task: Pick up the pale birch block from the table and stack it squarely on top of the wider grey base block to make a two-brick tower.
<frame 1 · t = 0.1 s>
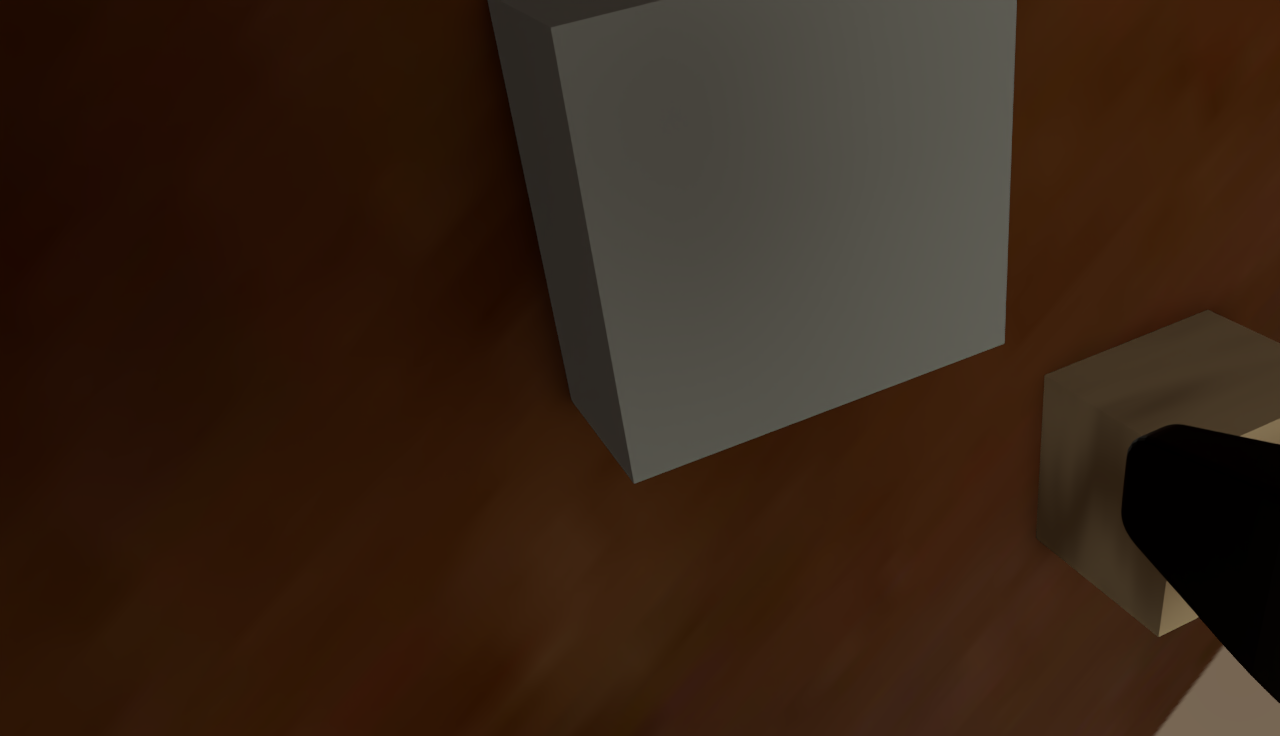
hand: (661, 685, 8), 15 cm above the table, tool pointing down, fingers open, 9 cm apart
birch block: (1116, 424, 33), on the table
base block: (720, 155, 24), on the table
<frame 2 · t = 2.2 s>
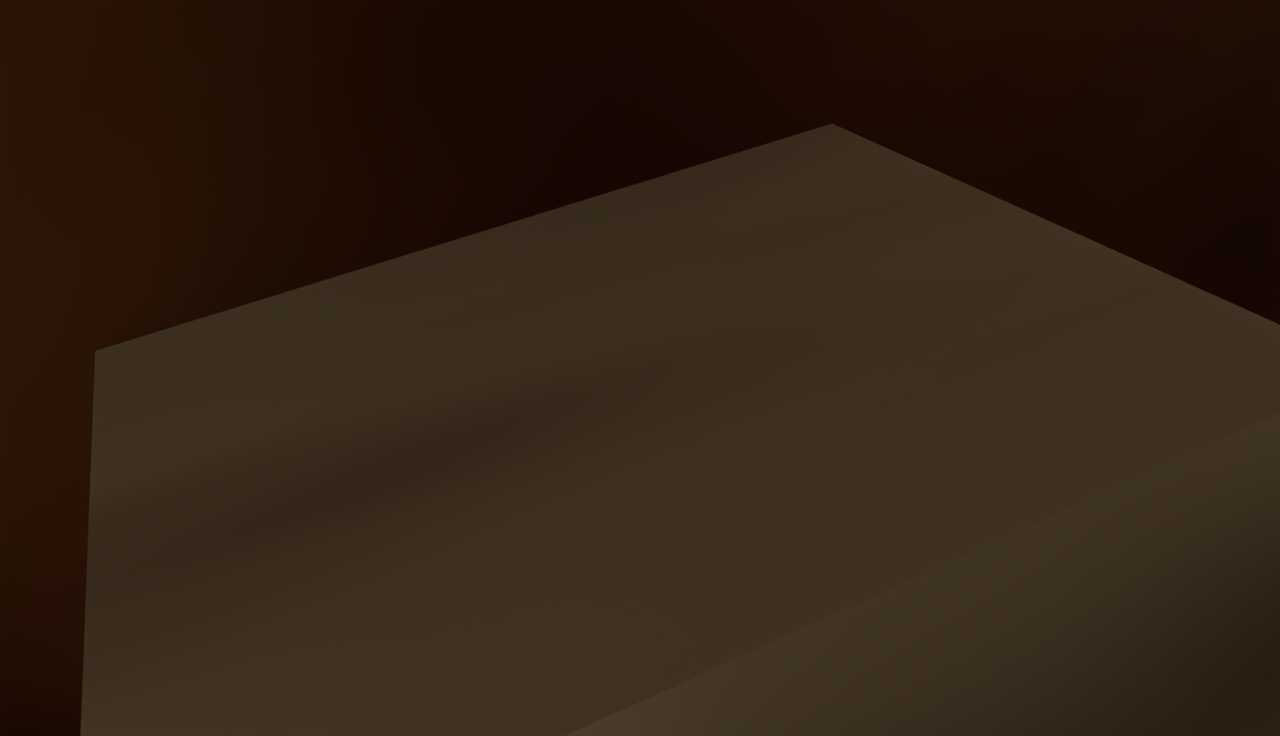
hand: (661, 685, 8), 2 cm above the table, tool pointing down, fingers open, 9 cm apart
birch block: (565, 517, 10), on the table
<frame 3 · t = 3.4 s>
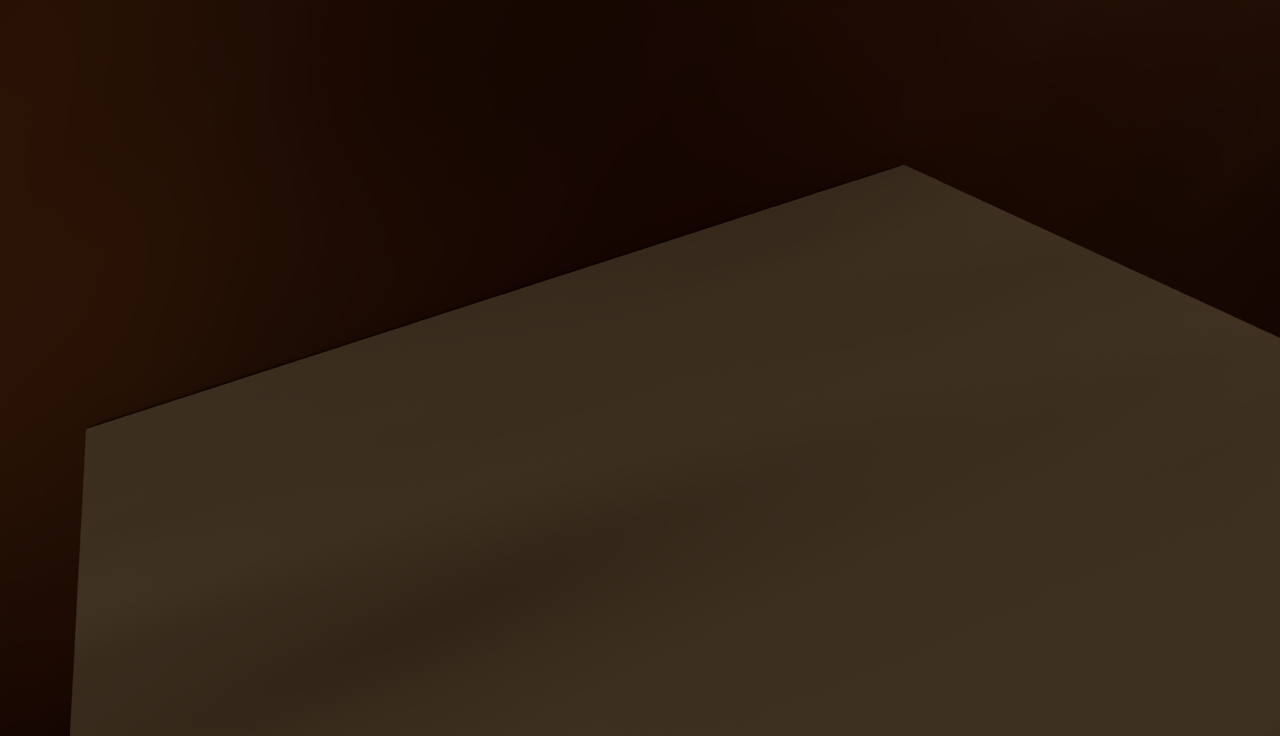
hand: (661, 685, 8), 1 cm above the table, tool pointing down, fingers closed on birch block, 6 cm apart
birch block: (609, 601, 9), on the table, touching gripper
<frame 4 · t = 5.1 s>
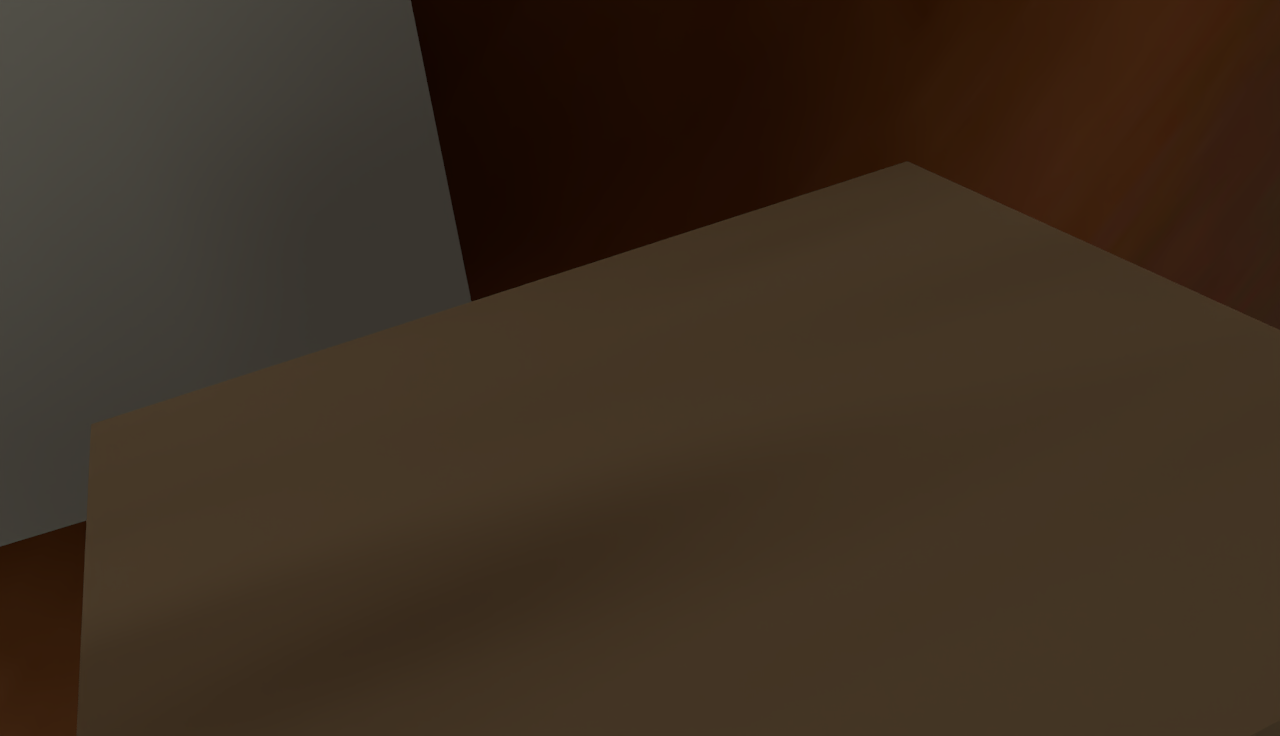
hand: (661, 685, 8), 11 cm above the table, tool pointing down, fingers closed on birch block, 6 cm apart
birch block: (612, 597, 9), point 10 cm above the table, touching gripper
base block: (44, 88, 15), on the table
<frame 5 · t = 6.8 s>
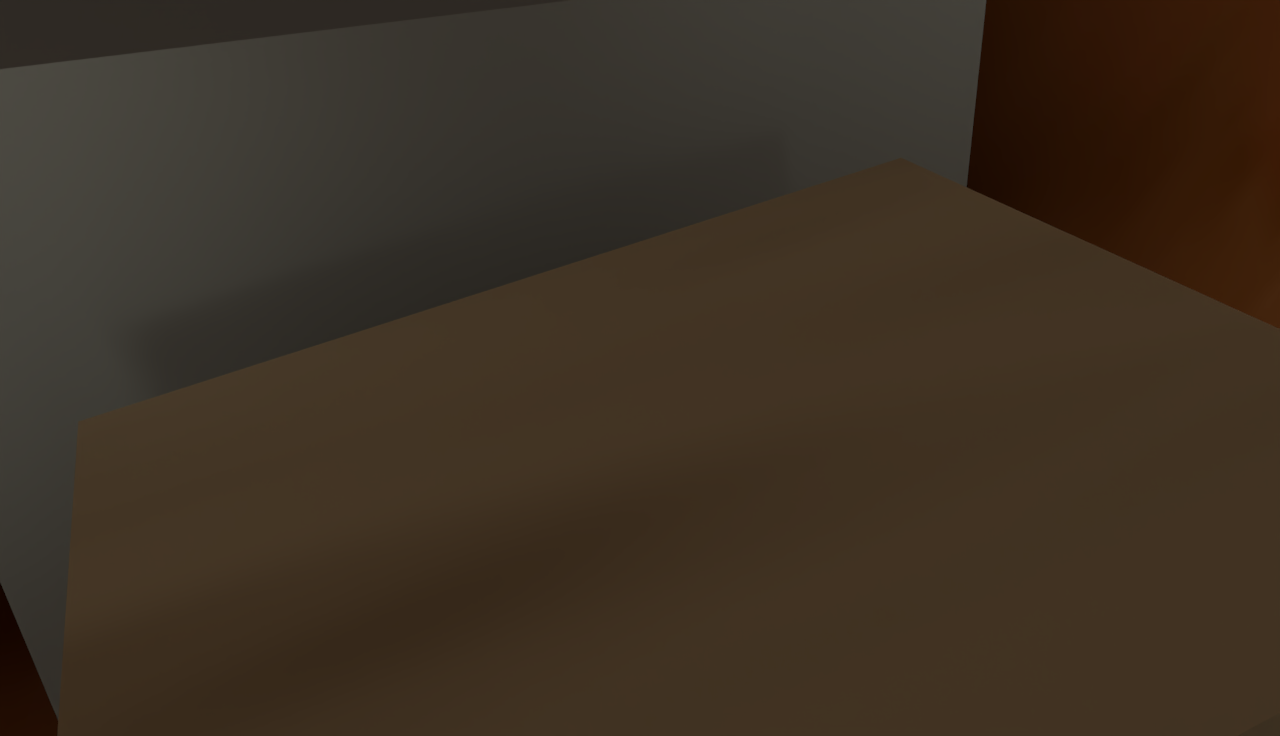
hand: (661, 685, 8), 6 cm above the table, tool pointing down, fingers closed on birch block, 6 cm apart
birch block: (605, 596, 9), point 5 cm above the table, touching gripper
base block: (447, 332, 13), on the table
when the fingers open (6 cm above the table, at t = 7.1 s): birch block drops 2 cm, point 4 cm above the table.
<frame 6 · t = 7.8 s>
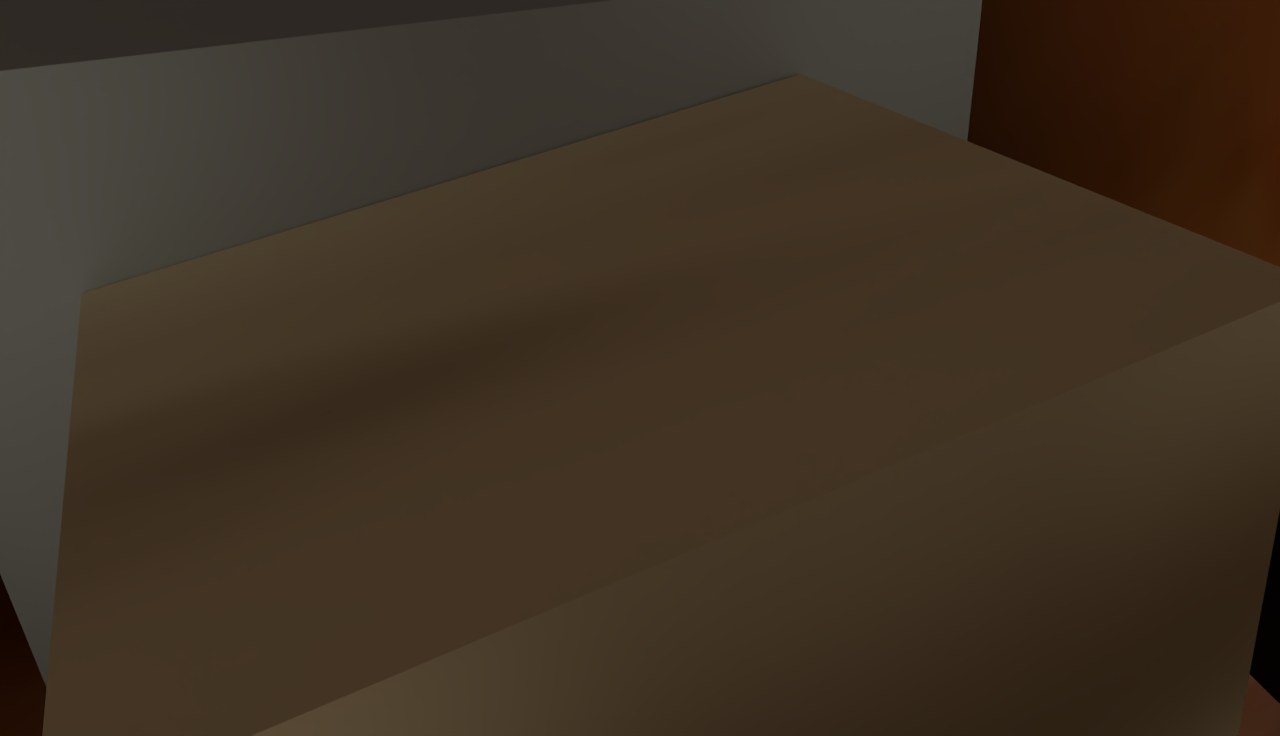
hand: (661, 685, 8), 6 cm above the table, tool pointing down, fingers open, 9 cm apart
birch block: (551, 471, 10), point 4 cm above the table
base block: (446, 333, 14), on the table
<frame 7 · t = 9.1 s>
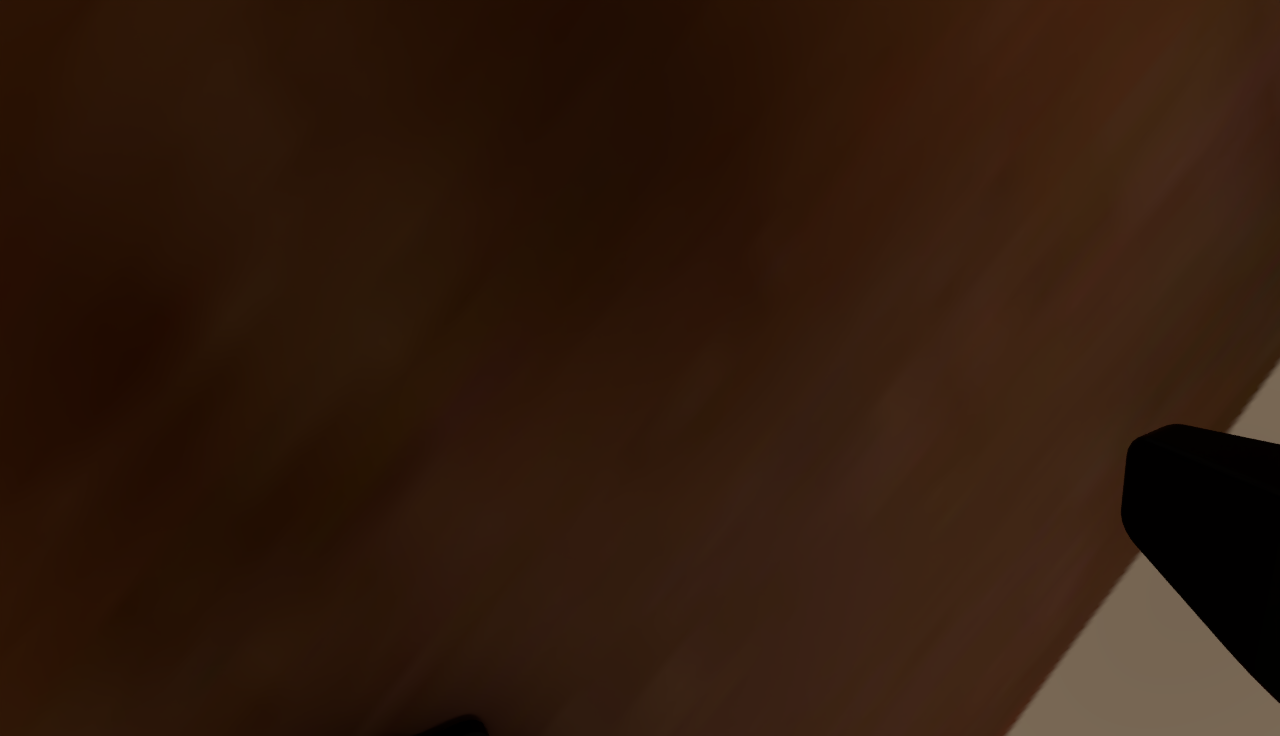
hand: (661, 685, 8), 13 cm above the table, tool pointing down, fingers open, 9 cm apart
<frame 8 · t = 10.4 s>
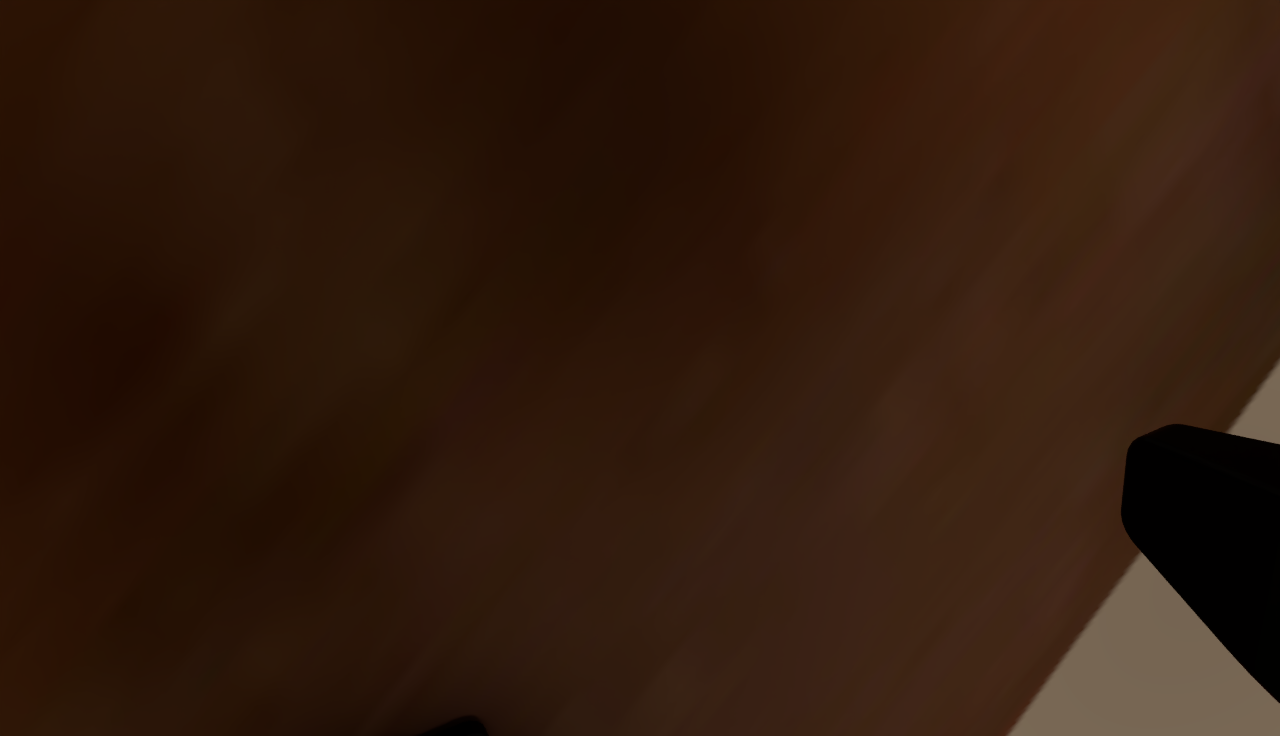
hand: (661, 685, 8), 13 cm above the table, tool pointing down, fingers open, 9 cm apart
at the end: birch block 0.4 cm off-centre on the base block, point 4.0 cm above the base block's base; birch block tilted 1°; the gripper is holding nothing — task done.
